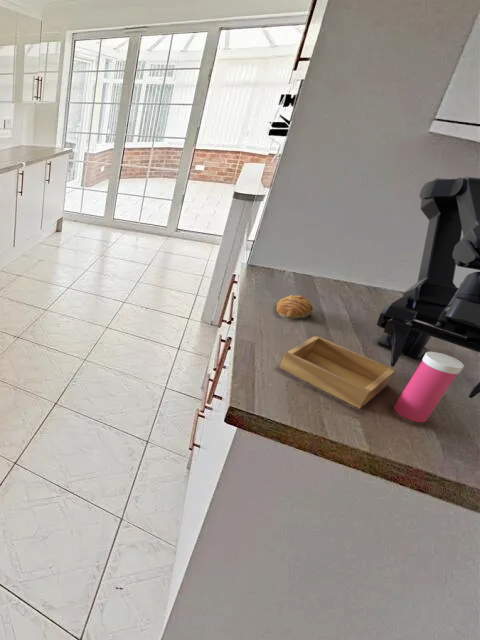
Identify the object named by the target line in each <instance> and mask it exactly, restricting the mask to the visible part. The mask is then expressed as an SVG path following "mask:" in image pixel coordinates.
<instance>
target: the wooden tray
mask: <svg viewBox="0 0 480 640" xmlns="http://www.w3.org/2000/svg"><path fill="white" fill-rule="evenodd" d="M279 368H280V369H281V370H283V371H284V372H285V371H286V372H287V373H289V374H291V375H293V376H295V377H296V378H299V379H301V380H303V381H305V382H307V383H309V384H311V385H312V386H314V387H317V388H318V389H321V390H323V391H324V392H327V393H329V394H330V395H333V396H334V397H336V398H338V399H340V400H342V401H344V402H347V404H350V405H351V406H354V407H356V408H357V409H362V408H363V406H365V405H366V404H368V403H369V402H370V401H371V400H372V399H373V398H374V397H376V396H377V395H378V394H379V393H380V392H381V391H382V390H384V389H385V388H386V387H387V386H388V385H389V383H390V381H391V380H392V379H393V376H394V375H395V373H396V372H397V369H396V368H394V367H391V366H389V365H387V364H384V363H381V362H380V361H377V360H376V359H375V360H374V359H372V358H370V357H369V356H368V357H367V356H366V355H363V354H360V353H358V352H356V351H354V350H351V349H350V348H349V349H348V347H347V348H346V347H345V346H342V345H339V344H337V343H335V342H332V341H330V340H328V339H325V338H323V337H321V336H318V335H314V336H312V337H311V338H309V339H307V340H305V341H303V342H302V343H300V344H299V345H297V346H295V347H293V348H292V349H290V350H288V351H286V352H285V354H284V356H283V359H282V361H281V363H280V366H279Z"/></svg>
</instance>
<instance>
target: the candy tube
mask: <svg viewBox="0 0 480 640" xmlns="http://www.w3.org/2000/svg"><path fill="white" fill-rule="evenodd" d="M464 368H465V365H464V363H463V362H462V361H460V360H458V359H457V358H455V357H453V356H450V355H449V354H446V353H445V354H444V353H441V352H438V351H427V352H426V353H425V354H424V355H423V357H422V360H421V362H420V363H419V365H418V367H417V368H416V370H415V371H414V373H413V374H412V376H411V378H410V379H409V382H408V383H407V385H405V388H404V389H403V391H402V393H401V394H400V395H399V397H398V399H397V401H396V402H395V404H394V406H393V410H395V412H396V413H397V414H399V415H400V416H402V417H403V418H406V419H408V420H410V421H413V422H415V423H416V422H417V423H426V422H427V420H428V419H429V418H430V416H431V414H432V413H433V412H434V410H435V409H436V407H437V406H438V405H439V404H440V401H442V398H443V397H444V395H445V394H446V393H447V391H448V389H449V388H450V387H451V385H452V384H453V382H454V381H455V379H456V378H457V377H458V375H459V374H460V373H461V372H462V370H463V369H464Z"/></svg>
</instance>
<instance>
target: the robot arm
mask: <svg viewBox="0 0 480 640" xmlns="http://www.w3.org/2000/svg"><path fill="white" fill-rule="evenodd" d="M419 199H421V200H420V210H421V212H422V213H423V214H424V216H425V217H426V218H427V220H428V225H427V231H426V236H425V241H424V246H423V252H422V256H421V262H420V268H419V273H418V278H417V282H416V283H415V284H413V285H412V286H411V287H409V288H408V289H407V290H406V291H404V293H403V295H402V296H401V297H400V298H398V299H397V300H394V301H393V302H391V303H389V304H386V305H385V306H384V307H383V309H382V310H381V312H380V313H379V316H378V319H377V323H376V325H377V326H378V327H379V328H381V329H383V333H384V334H386V336H384V337H383V338H382V339H380V340H378V342H377V344H378V345H380V346H382V347H385V348H388V349H389V350H391V355H390V366H389V367H391V368H394V367H395V366H396V364H397V363H398V361H399V358H400V357H401V354H402V355H404V356H407V357H409V358H412V359H415V360H419V359H420V358H421V357H422V356H424V355H425V354H426V352H429V351H428V350H429V349H428V348H427V347H426V346H427V344H428V342H429V341H430V339H431V337H433V338H435V339H439V340H442V341H445V342H447V343H451V344H453V345H455V346H456V345H457V346H459V347H461V348H462V347H463V348H465V349H467V350H471V351H474V352H477V353H480V177H474V176H465V177H458V178H442V177H436V178H434V179H433V180H431V181H428V182H426V183H424V184H423V186H422V188H421V189H420V192H419ZM457 267H459V268H464V269H471V270H477V271H475V272H471V273H468V274H467V275H465V277H464V279H463V280H462V282H461V283H460V284H459V286H458V287H457V286H456V284H455V283H454V281H455V280H454V279H455V273H456V268H457ZM478 395H480V381H479V382H478V383H477V384H476V385H475V386H474V387H473V388H472V389H471V391H470V393H469V395H468V398H470V399H473V398H475V397H476V396H478Z"/></svg>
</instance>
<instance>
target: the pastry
mask: <svg viewBox="0 0 480 640" xmlns="http://www.w3.org/2000/svg"><path fill="white" fill-rule="evenodd" d="M313 312H314V308H313V305H312V303H311V301H310V299H308V298H307V297H304V296H303V295H294V294H291V295H288V296H286V297H283V298H281V299H279V301H277V303H276V313H277V314H279V315H280V316H281V317H283V318H287V319H291V320H298V319H306V318H307V317H309V315H310V314H312V313H313Z"/></svg>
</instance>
